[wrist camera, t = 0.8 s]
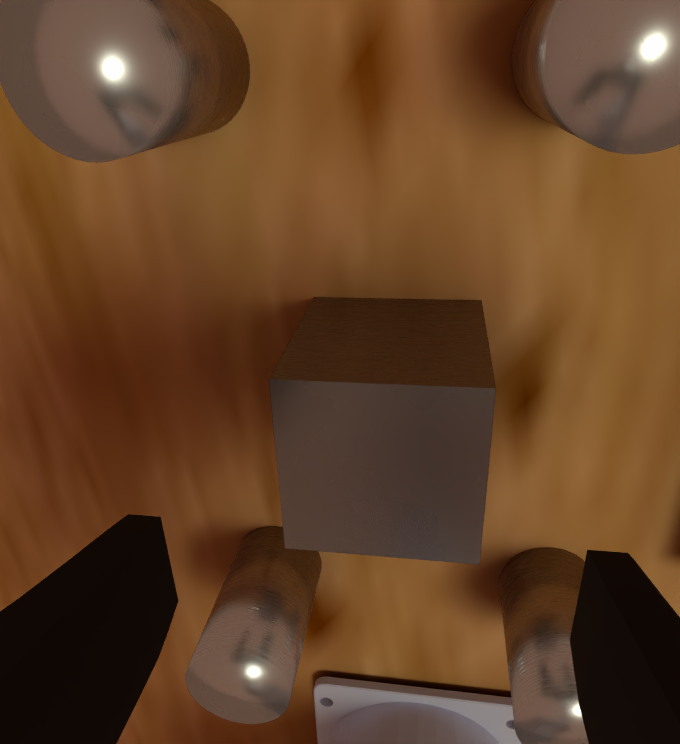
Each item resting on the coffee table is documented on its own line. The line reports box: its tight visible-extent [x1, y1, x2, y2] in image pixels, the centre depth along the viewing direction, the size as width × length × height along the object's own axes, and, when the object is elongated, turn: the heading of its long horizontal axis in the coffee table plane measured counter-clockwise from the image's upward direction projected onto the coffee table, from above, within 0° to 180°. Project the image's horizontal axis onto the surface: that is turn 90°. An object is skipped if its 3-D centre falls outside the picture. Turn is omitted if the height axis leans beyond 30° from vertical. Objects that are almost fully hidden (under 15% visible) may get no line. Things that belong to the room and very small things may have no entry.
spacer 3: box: [499, 548, 589, 744], centre depth 18 cm, size 3×3×5 cm
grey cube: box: [269, 297, 496, 564], centre depth 15 cm, size 4×4×5 cm
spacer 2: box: [185, 526, 322, 724], centre depth 19 cm, size 3×3×5 cm
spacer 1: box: [0, 0, 250, 162], centre depth 12 cm, size 3×3×5 cm
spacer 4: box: [512, 0, 680, 154], centre depth 11 cm, size 3×3×5 cm
